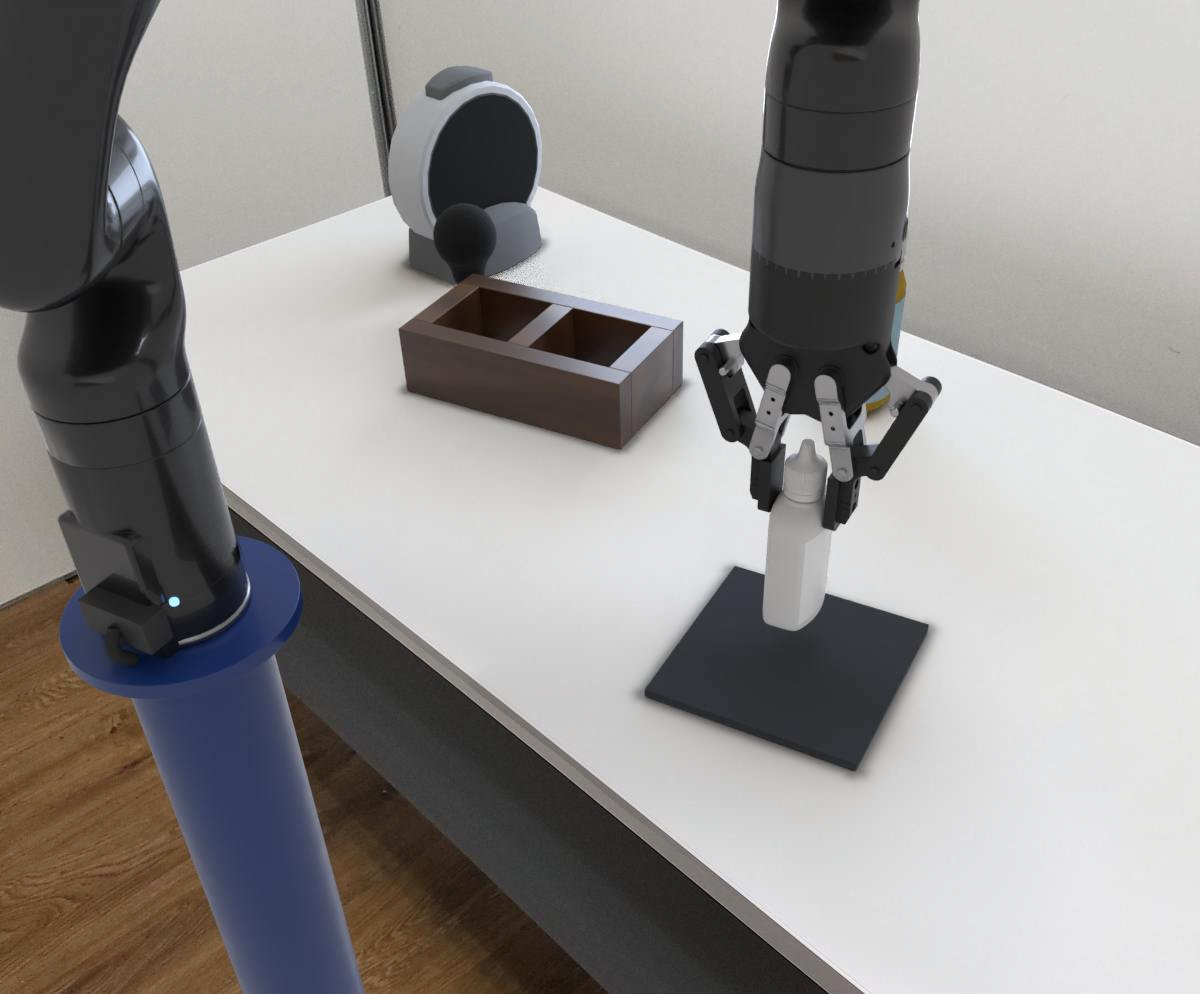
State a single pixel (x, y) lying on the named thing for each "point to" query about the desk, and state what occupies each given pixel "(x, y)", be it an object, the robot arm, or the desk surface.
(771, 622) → the eye dropper bottle
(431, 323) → the holder
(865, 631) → the mat
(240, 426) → the desk surface
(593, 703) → the desk surface
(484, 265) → the light bulb
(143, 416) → the robot arm
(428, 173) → the alarm clock
